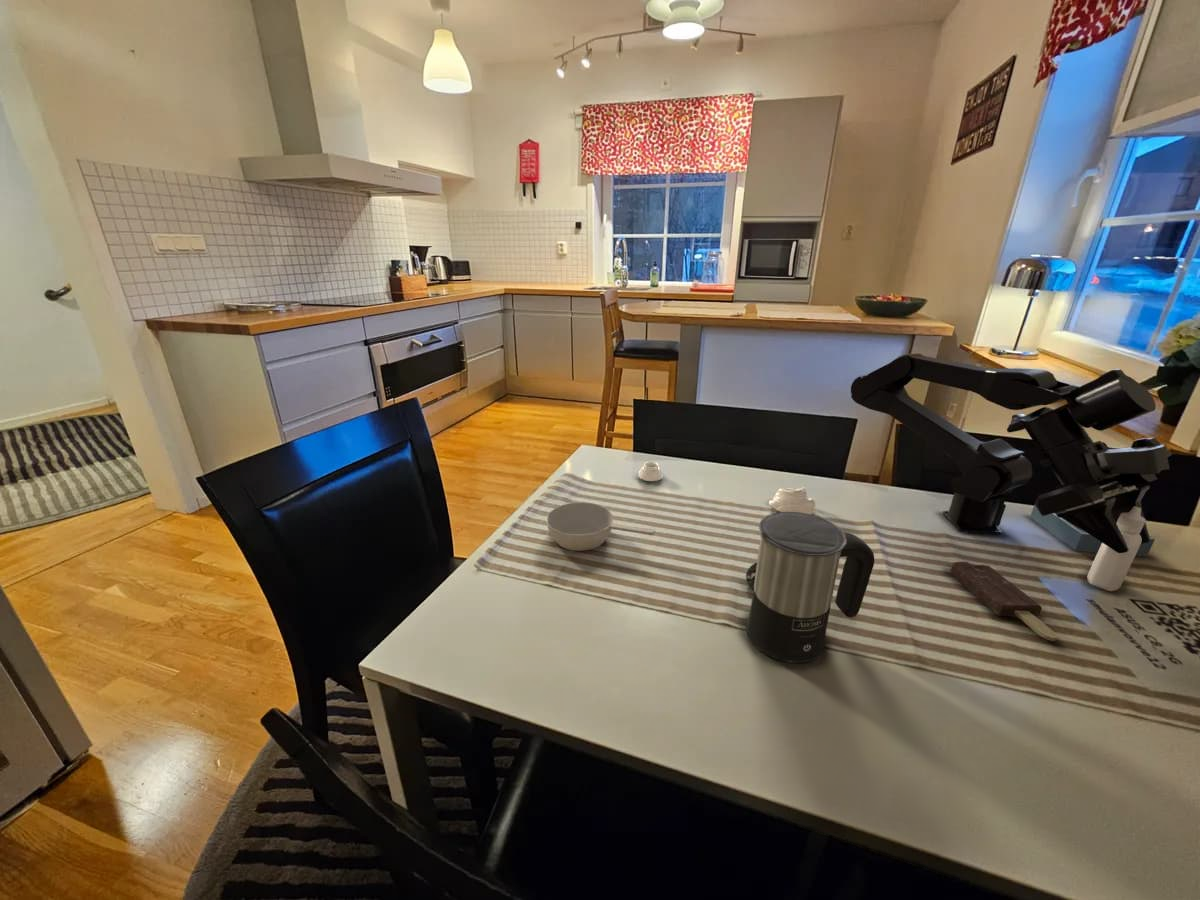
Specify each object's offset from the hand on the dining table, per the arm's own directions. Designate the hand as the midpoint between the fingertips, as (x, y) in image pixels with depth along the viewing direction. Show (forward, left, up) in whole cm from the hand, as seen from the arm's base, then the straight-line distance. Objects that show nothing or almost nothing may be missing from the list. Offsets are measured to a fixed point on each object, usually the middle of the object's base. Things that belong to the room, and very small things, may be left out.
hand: (1134, 547), depth 67 cm
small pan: (-74, 0, -7) cm, 74 cm away
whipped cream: (-41, +17, -7) cm, 45 cm away
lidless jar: (-67, +26, -7) cm, 72 cm away
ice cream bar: (-18, -6, -7) cm, 20 cm away
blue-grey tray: (+6, +15, -7) cm, 18 cm away
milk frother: (-48, -13, -7) cm, 51 cm away
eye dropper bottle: (-1, +1, -7) cm, 7 cm away
